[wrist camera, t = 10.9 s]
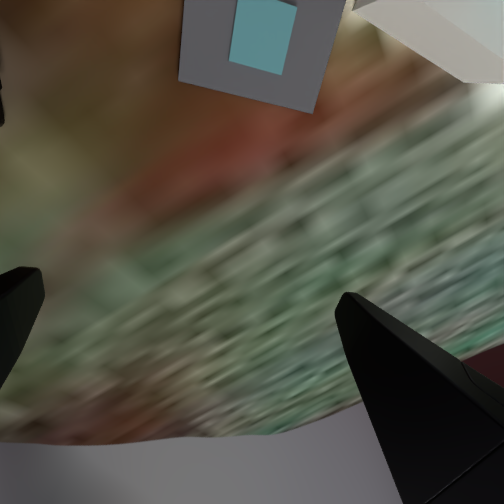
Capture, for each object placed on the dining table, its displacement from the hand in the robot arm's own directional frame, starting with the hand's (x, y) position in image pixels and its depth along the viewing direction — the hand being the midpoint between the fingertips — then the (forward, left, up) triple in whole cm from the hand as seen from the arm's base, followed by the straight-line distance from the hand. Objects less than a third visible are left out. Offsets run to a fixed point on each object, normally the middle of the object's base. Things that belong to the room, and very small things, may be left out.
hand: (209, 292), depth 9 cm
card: (+2, +8, -12) cm, 15 cm away
